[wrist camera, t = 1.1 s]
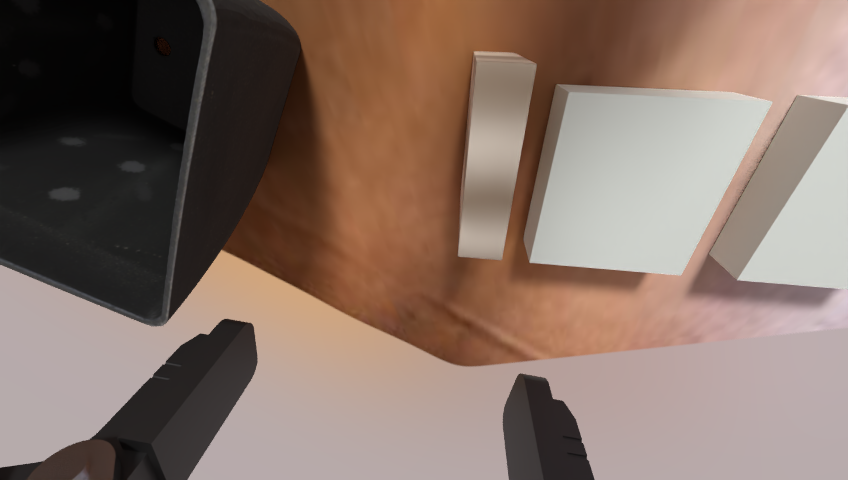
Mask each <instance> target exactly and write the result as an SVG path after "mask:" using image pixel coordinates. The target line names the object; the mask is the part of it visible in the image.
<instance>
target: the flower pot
mask: <svg viewBox="0 0 848 480" xmlns="http://www.w3.org/2000/svg"><path fill="white" fill-rule="evenodd" d="M157 37H161V38H164V39H165V40H166V41H167V42H168V44H169V45H170V48H171V53H170V54H169V56H163V55H161V54H160V53H159V52H158V51H157V49H156V47H155V45H154V42H155V39H156V38H157ZM300 50H301V44H300V39H299V37H298V35H297V33H296V31H295V30H294V29H293V27H292V26H291V25H290V24H289V22H288V21H287V20H286V19H285V18H283V17H282V16H281V15H280V14H279V13H278V12H276V11H275V10H274V9H272V8H271V7H269V6H268V5H266V4H265V3H263V2H261V1H259V0H0V265H3V266H5V267H7V268H10V269H12V270H15V271H17V272H20V273H22V274H24V275H27V276H29V277H32V278H34V279H37V280H39V281H41V282H44V283H46V284H48V285H51V286H53V287H56V288H58V289H61V290H63V291H66V292H68V293H71V294H73V295H75V296H78V297H80V298H83V299H85V300H88V301H90V302H92V303H95V304H97V305H100V306H102V307H105V308H107V309H110V310H112V311H114V312H117V313H119V314H122V315H124V316H126V317H129V318H131V319H134V320H137V321H139V322H141V323H144V324H147V325H150V326H163V325H164V324H166V323H167V321H168V320H169V319H170V318H171V317H172V315H173V314H174V313H175V312H176V310H177V309H178V308H179V307H180V306H181V304H182V303H183V302H184V301H185V299H186V298H187V297H188V295H189V294H190V293H191V292H192V290H193V289H194V288H195V286H196V285H197V283H198V282H199V281H200V279H201V278H202V277H203V275H204V274H205V272H206V271H207V270H208V268H209V267H210V265H211V264H212V263H213V261H214V260H215V258H216V257H217V255H218V254H219V252H220V251H221V249H222V248H223V246H224V245H225V243H226V242H227V240H228V239H229V237H230V236H231V234H232V232H233V231H234V229H235V227H236V225H237V224H238V222H239V220H240V219H241V217H242V215H243V213H244V211H245V210H246V208H247V206H248V204H249V202H250V200H251V198H252V196H253V194H254V192H255V190H256V188H257V186H258V184H259V182H260V180H261V177H262V175H263V172H264V170H265V167H266V165H267V162H268V159H269V155H270V152H271V148H272V145H273V141H274V138H275V135H276V131H277V128H278V124H279V121H280V118H281V115H282V111H283V108H284V104H285V101H286V98H287V94H288V91H289V87H290V84H291V81H292V77H293V74H294V71H295V67H296V64H297V60H298V57H299V54H300Z"/></svg>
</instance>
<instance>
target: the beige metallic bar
mask: <svg viewBox="0 0 848 480" xmlns="http://www.w3.org/2000/svg"><path fill="white" fill-rule="evenodd" d="M536 67H537V64H536V63H534V62H532V61H530V60H528V59H526V58H524V57H522V56H520V55H518V54H516V53H510V52H485V51H474V53H473V64H472V75H471V86H470V97H469V108H468V119H467V129H466V140H465V151H464V162H463V173H462V184H461V195H460V216H459V241H458V257H469V258H481V259H493V260H502V256H503V250H504V245H505V239H506V234H507V228H508V223H509V217H510V212H511V206H512V200H513V195H514V189H515V184H516V178H517V173H518V167H519V161H520V156H521V150H522V145H523V139H524V134H525V128H526V123H527V117H528V111H529V106H530V100H531V95H532V89H533V84H534V78H535V73H536Z"/></svg>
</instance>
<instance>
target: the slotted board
mask: <svg viewBox="0 0 848 480" xmlns="http://www.w3.org/2000/svg"><path fill="white" fill-rule="evenodd" d="M771 104H772V101H768V100H764V99H759V98H755V97H751V96H747V95H743V94H738V93H734V92H721V91H699V90H677V89H654V88H632V87H610V86H588V85H566V84H556V86H555V91H554V96H553V100H552V105H551V110H550V115H549V119H548V124H547V129H546V134H545V138H544V143H543V148H542V152H541V157H540V162H539V167H538V171H537V176H536V181H535V186H534V190H533V195H532V200H531V205H530V209H529V214H528V219H527V223H526V228H525V233H524V238H523V241H524V244H525V248H526V252H527V256H528V259H529V263H539V264H551V265H563V266H575V267H587V268H599V269H610V270H622V271H634V272H646V273H658V274H670V275H681V274H682V273H683V271H684V269H685V267H686V265H687V263H688V261H689V259H690V257H691V256H692V254H693V252H694V250H695V248H696V246H697V244H698V242H699V240H700V239H701V237H702V235H703V233H704V231H705V229H706V227H707V225H708V223H709V221H710V220H711V218H712V216H713V214H714V212H715V210H716V208H717V206H718V204H719V203H720V201H721V199H722V197H723V195H724V193H725V191H726V189H727V187H728V186H729V184H730V182H731V180H732V178H733V176H734V174H735V172H736V170H737V168H738V167H739V165H740V163H741V161H742V159H743V157H744V155H745V153H746V151H747V150H748V148H749V146H750V144H751V142H752V140H753V138H754V136H755V134H756V133H757V131H758V129H759V127H760V125H761V123H762V121H763V119H764V117H765V115H766V114H767V112H768V110H769V108H770V106H771ZM709 255H710V256H712V257H713V258H714V259H715V260H716V261H717V262H718V263H719V264H720V265H721V266H722V267H723V268H724V269H725V270H727V271H728V272H729V273H730V274H731V275H732V276H733V277H734V278H735V279H736V280H741V281H753V282H764V283H776V284H788V285H800V286H812V287H824V288H836V289H847V290H848V97H831V96H809V95H797V97H796V99H795V101H794V102H793V104H792V106H791V108H790V110H789V111H788V113H787V115H786V117H785V118H784V120H783V122H782V124H781V126H780V127H779V129H778V131H777V133H776V135H775V136H774V138H773V140H772V142H771V144H770V145H769V147H768V149H767V151H766V152H765V154H764V156H763V158H762V160H761V161H760V163H759V165H758V167H757V169H756V170H755V172H754V174H753V176H752V178H751V179H750V181H749V183H748V185H747V186H746V188H745V190H744V192H743V194H742V195H741V197H740V199H739V201H738V203H737V204H736V206H735V208H734V210H733V212H732V213H731V215H730V217H729V219H728V221H727V222H726V224H725V226H724V228H723V229H722V231H721V233H720V235H719V237H718V238H717V240H716V242H715V244H714V246H713V247H712V249H711V251H710V253H709Z"/></svg>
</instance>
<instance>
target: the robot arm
mask: <svg viewBox="0 0 848 480" xmlns="http://www.w3.org/2000/svg"><path fill="white" fill-rule="evenodd" d="M256 366H257V350H256V342H255V334H254V327H253V325H252V324H251V323H247V322H241V321H235V320H230V319H224V320H222V321H221V322H220V323H219V324H218V325H217V326H216V327H215V328H214V329H213V330H212V331H211V333H210V334H209V335H206V334H199V335H197V336H196V337H194V338H193V339H191V340H189V341H188V342H186V343H185V344H183V345H181V346H180V347H179V348H178V349H177V350H176V351H175V352H174V353H173V354H172V356H171V357H170V358H169V359H168V360H167V361H166V364H165V365H162V366H161V367H160V368H159V369H158V370H157V371H156V372H155V373H154V375H153V377H152V378H150V379H149V380H148V381H147V382H146V383H145V384H144V385H143V386H142V387H141V388H140V389H139V390H138V391H137V392H136V393H135V394H134V395H133V396H132V398H131V399H130V400H129V401H128V402H127V403H126V404H125V405H124V406H123V407H122V408H121V409H120V410H119V411H118V412H117V413H116V414H115V415H114V416H113V417H112V418H111V420H110V421H109V422H108V423H107V424H106V425H105V426H104V427H103V428H102V429H101V430H100V431H99V432H98V433H97V434H96V435H95V436H93V437H92V438H91V439H90V440H86V441H81V442H78V443H75V444H72V445H70V446H67V447H65V448H64V449H61V450H60V451H58V452H56V453H55V454H53V455H51V456H50V457H49V458H47V459H46V460H45V461H42V462H37V463H30V464H23V465H17V466H10V467H2V468H0V480H187V479H188V478H189V476H190V474H191V473H192V471H193V470H194V468H195V466H196V465H197V463H198V462H199V460H200V459H201V457H202V456H203V454H204V452H205V451H206V449H207V448H208V446H209V445H210V443H211V442H212V440H213V438H214V437H215V435H216V434H217V432H218V431H219V429H220V427H221V426H222V424H223V423H224V421H225V420H226V418H227V417H228V415H229V413H230V412H231V410H232V409H233V407H234V406H235V404H236V402H237V401H238V399H239V398H240V396H241V395H242V393H243V392H244V389H245V388H246V387H247V385H248V384H249V382H250V381H251V379H252V377H253V375H254V372H255V370H256ZM503 431H504V440H505V449H506V457H507V466H508V475H509V480H594V477H593V473H592V470H591V467H590V464H589V461H588V460H587V454H586V451H585V448H584V445H583V443H582V438H581V435H580V432H579V429H578V425H577V422H576V419H575V418H574V416H573V415H572V413H571V412H570V410H569V409H568V407H567V406H566V404H565V403H564V402H563V401H560V400H555V399H553V398H552V394H551V390H550V387H549V383H548V381H547V380H546V378H542V377H537V376H531V375H526V374H519V375H518V376H517V378H516V380H515V383H514V385H513V388H512V390H511V392H510V395H509V397H508V399H507V402H506V404H505V407H504V413H503Z"/></svg>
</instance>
